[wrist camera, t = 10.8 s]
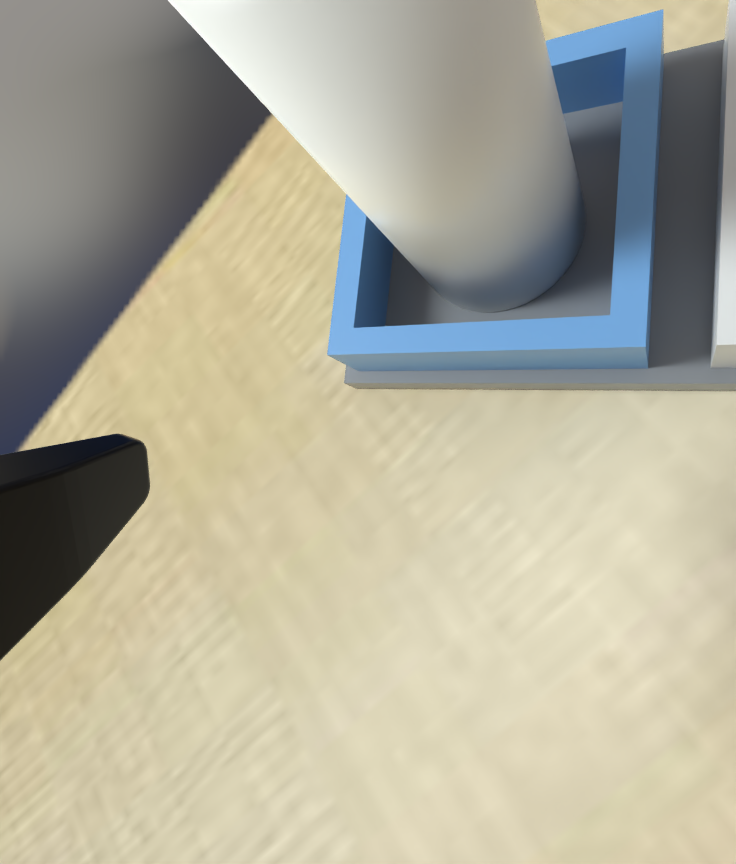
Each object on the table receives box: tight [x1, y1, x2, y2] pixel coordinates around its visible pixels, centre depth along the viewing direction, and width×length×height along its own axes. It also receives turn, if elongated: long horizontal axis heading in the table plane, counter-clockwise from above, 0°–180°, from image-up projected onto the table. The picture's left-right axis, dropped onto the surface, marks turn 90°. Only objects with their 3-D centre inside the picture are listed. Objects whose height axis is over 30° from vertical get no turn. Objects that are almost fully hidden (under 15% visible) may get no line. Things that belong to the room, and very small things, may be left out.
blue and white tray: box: [327, 0, 736, 391], centre depth 15 cm, size 20×9×3 cm, turn 84°
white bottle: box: [168, 0, 586, 312], centre depth 12 cm, size 5×5×13 cm
